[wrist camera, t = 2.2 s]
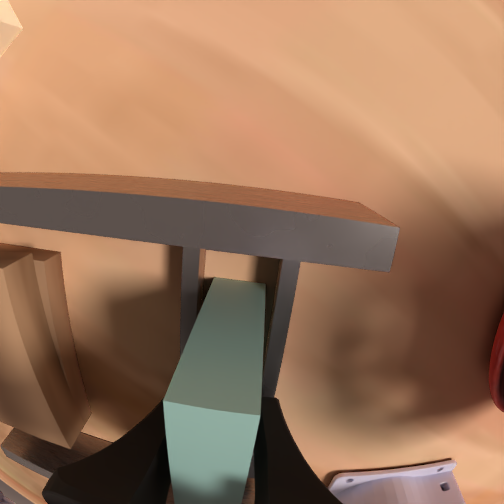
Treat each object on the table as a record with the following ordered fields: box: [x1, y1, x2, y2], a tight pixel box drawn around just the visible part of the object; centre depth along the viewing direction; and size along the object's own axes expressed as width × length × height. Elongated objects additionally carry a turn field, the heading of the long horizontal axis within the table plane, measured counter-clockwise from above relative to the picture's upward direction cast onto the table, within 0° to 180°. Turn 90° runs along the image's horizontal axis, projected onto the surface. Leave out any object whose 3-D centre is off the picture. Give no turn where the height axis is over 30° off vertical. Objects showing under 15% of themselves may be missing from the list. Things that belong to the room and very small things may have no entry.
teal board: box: [163, 277, 266, 504], centre depth 11 cm, size 2×10×7 cm, turn 173°
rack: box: [0, 173, 400, 504], centre depth 12 cm, size 18×17×4 cm
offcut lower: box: [0, 243, 92, 425], centre depth 14 cm, size 6×10×2 cm, turn 174°
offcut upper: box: [0, 252, 84, 449], centre depth 12 cm, size 6×10×2 cm, turn 0°
